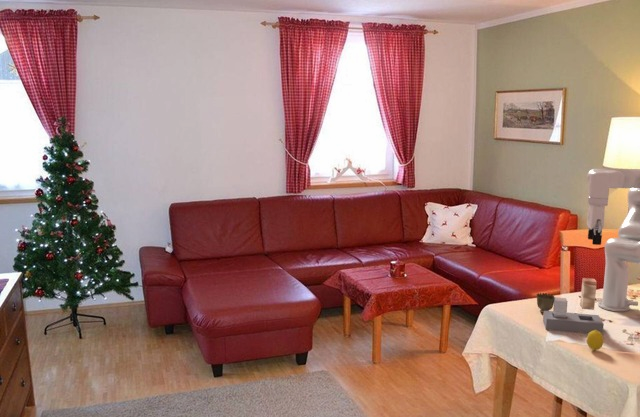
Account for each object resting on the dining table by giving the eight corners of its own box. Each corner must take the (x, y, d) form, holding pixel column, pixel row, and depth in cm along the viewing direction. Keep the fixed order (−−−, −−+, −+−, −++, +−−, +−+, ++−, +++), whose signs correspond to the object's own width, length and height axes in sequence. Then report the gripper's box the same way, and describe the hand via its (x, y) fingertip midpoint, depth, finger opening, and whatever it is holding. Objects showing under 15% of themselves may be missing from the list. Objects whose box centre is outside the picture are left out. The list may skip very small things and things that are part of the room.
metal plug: (563, 325, 240) (565, 298, 238) (565, 328, 236) (567, 301, 234) (552, 323, 241) (554, 297, 239) (553, 327, 237) (555, 300, 235)
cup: (555, 316, 251) (556, 298, 250) (537, 315, 252) (538, 297, 251) (551, 310, 258) (553, 293, 257) (534, 309, 260) (535, 292, 258)
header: (597, 326, 239) (598, 315, 238) (602, 336, 230) (603, 323, 229) (542, 321, 244) (543, 310, 243) (545, 330, 235) (546, 318, 234)
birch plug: (591, 306, 236) (594, 278, 234) (594, 309, 232) (596, 281, 230) (580, 305, 237) (582, 277, 235) (582, 308, 233) (584, 281, 231)
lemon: (594, 354, 212) (596, 333, 211) (582, 348, 217) (584, 328, 216) (605, 352, 214) (607, 331, 213) (593, 346, 219) (595, 326, 218)
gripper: (584, 197, 250) (580, 237, 253) (592, 204, 233) (588, 246, 236) (603, 198, 248) (599, 238, 251) (612, 205, 231) (608, 247, 234)
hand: (594, 241), depth 244 cm, fingers open, 9 cm apart
